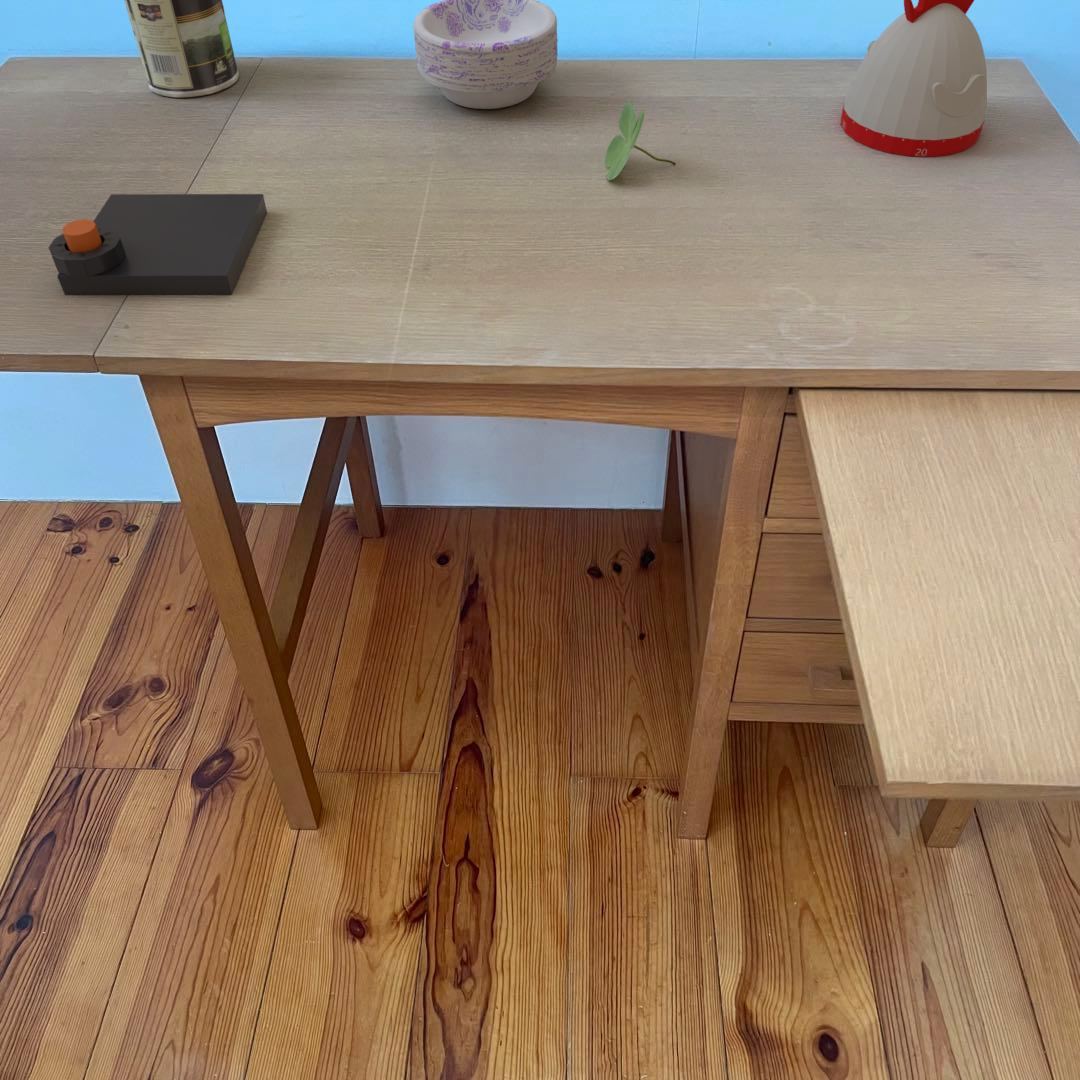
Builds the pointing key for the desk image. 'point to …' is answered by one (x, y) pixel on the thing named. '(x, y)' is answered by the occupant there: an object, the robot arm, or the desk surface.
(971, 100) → the kitchen timer
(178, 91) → the coffee can
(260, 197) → the scale
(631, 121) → the seedling
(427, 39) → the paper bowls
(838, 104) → the desk surface
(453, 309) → the desk surface
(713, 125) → the desk surface
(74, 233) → the button
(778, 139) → the desk surface
